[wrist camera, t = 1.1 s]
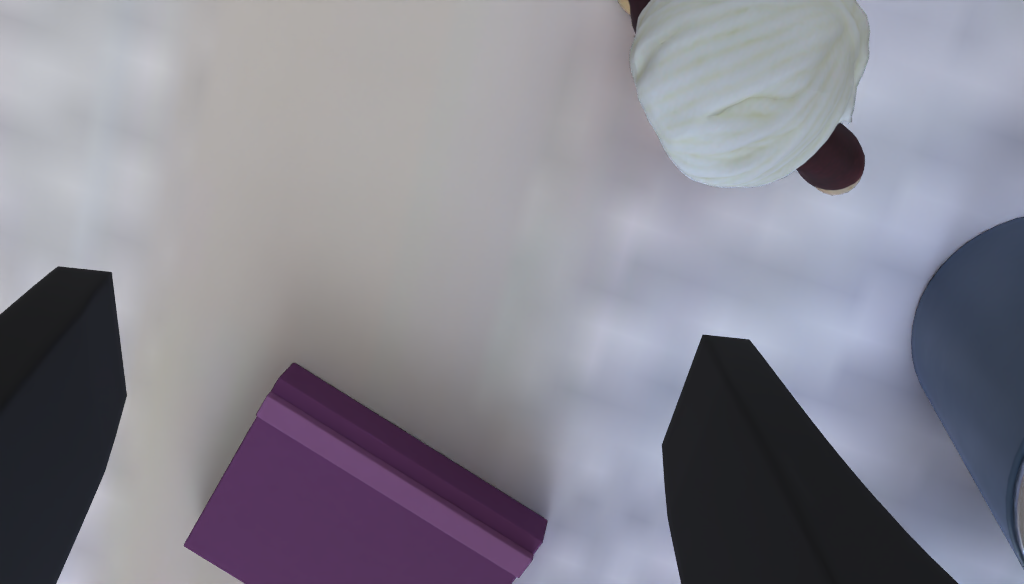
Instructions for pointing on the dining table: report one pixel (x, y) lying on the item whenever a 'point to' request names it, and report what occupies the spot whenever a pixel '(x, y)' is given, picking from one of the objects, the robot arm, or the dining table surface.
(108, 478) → the dining table surface
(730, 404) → the robot arm
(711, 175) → the grandmother figurine
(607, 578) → the dining table surface
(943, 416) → the tin can
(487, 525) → the purple box
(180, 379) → the dining table surface
